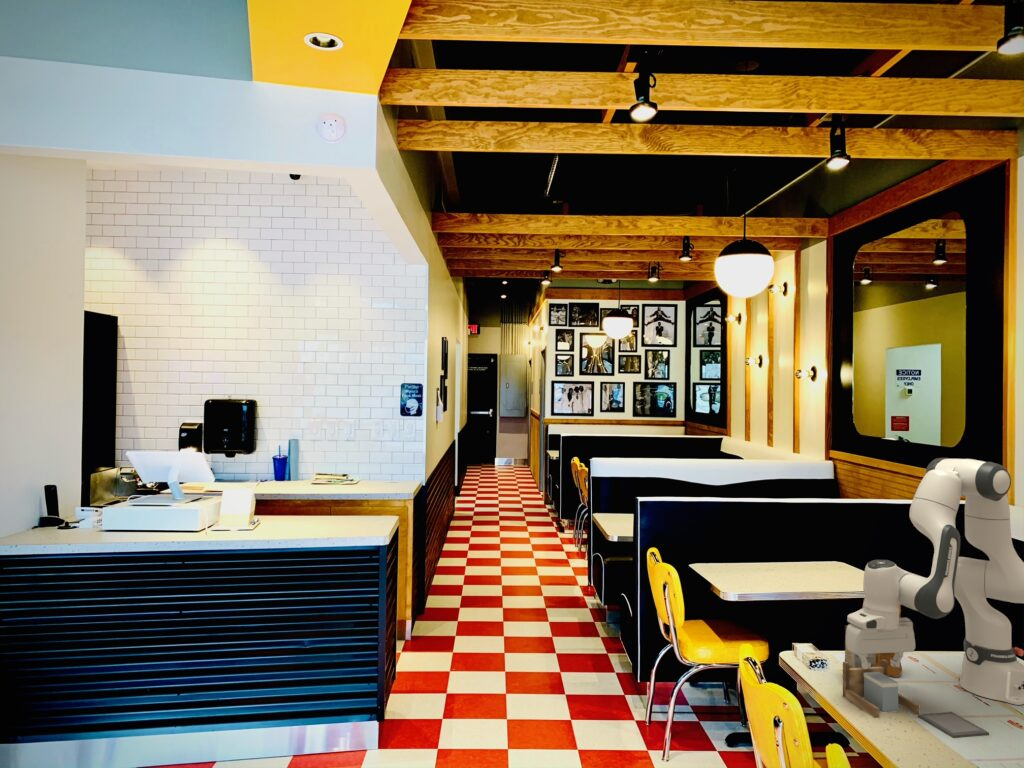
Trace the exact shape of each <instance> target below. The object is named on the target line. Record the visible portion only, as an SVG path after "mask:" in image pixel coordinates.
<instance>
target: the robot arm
mask: <svg viewBox="0 0 1024 768" xmlns="http://www.w3.org/2000/svg"><path fill="white" fill-rule="evenodd" d="M1011 485H1012V479H1011V475H1010V473H1009V471H1008V469H1007V468H1006V467H1005V466H1003V465H1002V464H999V463H995V462H992V461H984V460H977V459H973V458H949V457H938V458H935V459H933V460H932V461H931V462H930V463H928V465H927V466H926V470H925V475H924V476H923V478H922V479H921V482H919V485H918V487H917V488H916V490H915V493H914V496H913V499H912V501H911V504H910V507H909V513H908V514H909V520H910V521H911V523H912V524H913V527H915V528H916V530H918V531H919V532H920V533H921V534H923V535H924V536H925V537H927V539H929V540H930V541H931V543H932V545H933V549H934V550H933V552H934V553H933V557H932V564H931V565H932V566H931V570H930V571H931V572H930V575H929V576H928V577H924V576H923V575H922V576H921V575H919V574H916V573H912V572H910V571H907V570H904V569H902V568H901V567H899V566H897V564H896V563H895V562H894V561H891V560H888V559H874V560H870V561H869V562H867V564H866V565H865V568H864V573H863V585H862V586H863V594H864V598H865V600H864V599H863V600H864V603H862V608H860V609H859V610H857V611H855V612H851V613H849V614H848V615H847V617H846V618H847V619H846V621H847V623H848V624H847V625H848V626H847V629H846V647H847V649H848V650H849V651H851V652H852V653H854V654H858V656H859V657H860V659H861V661H862V668H864V669H870V668H871V667H870V666H871V663H870V662H868V661H867V659H866V657H868V654H873V653H895V655H894V657H893V659H890V662H891V663H890V665H891V666H892V667H894V668H897V667H900V661H902V659H903V657H904V653H910V652H914V651H915V650H916V639H915V631H914V623H913V621H912V620H911V619H910V618H908V617H901V618H899V608H898V606H899V605H900V606H904V607H905V608H909V609H911V610H913V611H917V612H919V613H920V614H923V615H924V616H926V617H929V618H931V619H933V620H935V619H936V620H937V619H942V618H944V617H946V616H947V615H949V614H950V613H951V612H952V611H953V609H954V608H955V602H956V601H955V599H956V600H957V601H958V603H959V604H960V606H961V609H962V612H963V616H964V623H965V624H964V625H965V626H964V627H965V637H964V640H963V651H964V653H963V657H962V665H961V673H959V675H958V679H960V680H959V683H958V684H959V686H960V687H961V688H962V689H963V690H965V691H967V692H970V693H971V694H974V695H977V696H980V697H983V698H986V699H990V700H995V701H1001V702H1005V703H1009V704H1012V705H1016V706H1021V705H1024V664H1023V663H1021V662H1020V661H1019V660H1018V658H1017V656H1018V657H1019V656H1020V657H1023V656H1024V650H1023V649H1022V648H1019V647H1017V646H1015V647H1013V646H1012V623H1011V621H1010V620H1009V618H1008V617H1007V616H1006V615H1005V614H1004V613H1002V612H1001V611H999V610H998V609H995V608H994V607H993V606H991V604H989V602H988V601H987V598H989V599H993V600H998V601H1002V602H1009V603H1014V604H1024V561H1023V560H1022V558H1020V557H1019V555H1018V553H1017V551H1016V549H1015V548H1014V544H1013V540H1012V532H1011V531H1012V530H1011V510H1010V501H1009V498H1008V492H1009V490H1010V489H1011ZM962 496H964V497H965V502H964V537H965V539H966V540H967V542H968V543H969V544H970V545H972V546H973V547H974V548H976V549H978V550H980V551H982V552H983V553H984V554H985V555H986V556H987V557H988V559H989V560H985V559H977V558H972V557H965V556H960V551H961V535H960V532H959V530H958V529H957V528H956V517H957V513H958V510H959V507H960V504H961V503H960V502H961V499H962ZM1016 655H1017V656H1016Z"/></svg>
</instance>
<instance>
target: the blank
mask: <svg viewBox="0 0 1024 768" xmlns="http://www.w3.org/2000/svg"><path fill="white" fill-rule="evenodd" d="M898 693H899V682H898V681H897V680H894V679H893V678H891V677H890V676H886V675H884V674H882V673H880V672H867V673H864V697H863V698H864V699H865V700H867V701H869V702H870V703H872V704H873V705H875V706H876V707H878V708H879V712H881V713H893V712H899V704H898Z"/></svg>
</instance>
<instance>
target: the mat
mask: <svg viewBox="0 0 1024 768" xmlns="http://www.w3.org/2000/svg"><path fill="white" fill-rule="evenodd" d="M917 717H918V718H920V719H922V720H923V721H924V722H926V723H928V724H929V725H930V726H933V727H934V728H935V729H936V728H937V729H938V730H939V731H941V732H943V733H945V734H946V735H948V736H950V737H951V738H953V739H955V738H966V737H968V738H969V737H977V736H978V737H981V736H988V735H990V732H989V731H988V730H986V729H984V728H983V727H980V726H978V725H976V724H975V723H973V722H971V721H969V720H968V719H966V718H964V717H962V716H960V715H958V714H956V713H955V712H952V711H945V712H943V711H942V712H931V713H919V714H918V715H917Z"/></svg>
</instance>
